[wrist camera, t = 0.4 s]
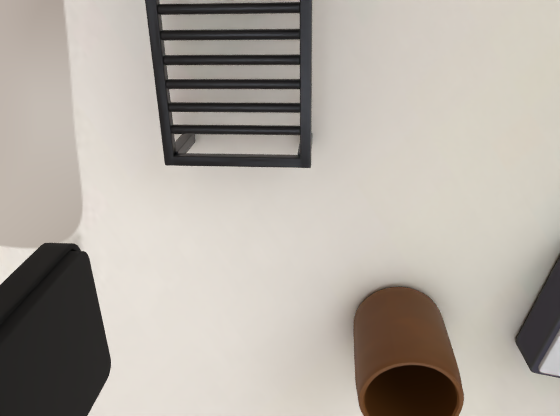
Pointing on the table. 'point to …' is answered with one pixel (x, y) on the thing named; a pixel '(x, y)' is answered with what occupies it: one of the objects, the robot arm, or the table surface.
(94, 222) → the table surface
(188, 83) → the rack
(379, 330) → the mug
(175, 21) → the table surface
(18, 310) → the robot arm
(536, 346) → the calculator
